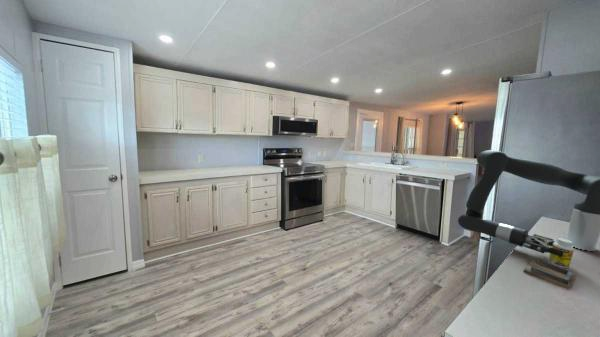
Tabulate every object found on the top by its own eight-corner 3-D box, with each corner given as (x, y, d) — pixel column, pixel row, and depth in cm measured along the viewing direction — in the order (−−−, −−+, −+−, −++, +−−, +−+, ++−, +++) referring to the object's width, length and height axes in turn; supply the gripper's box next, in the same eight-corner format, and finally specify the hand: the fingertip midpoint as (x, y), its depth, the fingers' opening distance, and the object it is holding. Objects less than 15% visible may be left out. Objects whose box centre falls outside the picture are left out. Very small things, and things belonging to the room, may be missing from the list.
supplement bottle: (554, 266, 91) (561, 242, 89) (544, 259, 96) (550, 235, 95) (573, 270, 90) (580, 244, 88) (562, 262, 95) (568, 238, 93)
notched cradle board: (532, 262, 93) (533, 256, 93) (574, 277, 84) (575, 271, 84) (523, 271, 87) (524, 265, 86) (567, 289, 78) (569, 282, 77)
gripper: (507, 229, 100) (564, 246, 87) (518, 223, 108) (571, 238, 95) (504, 246, 101) (559, 265, 88) (514, 238, 109) (566, 255, 96)
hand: (565, 251), depth 91 cm, fingers open, 8 cm apart
